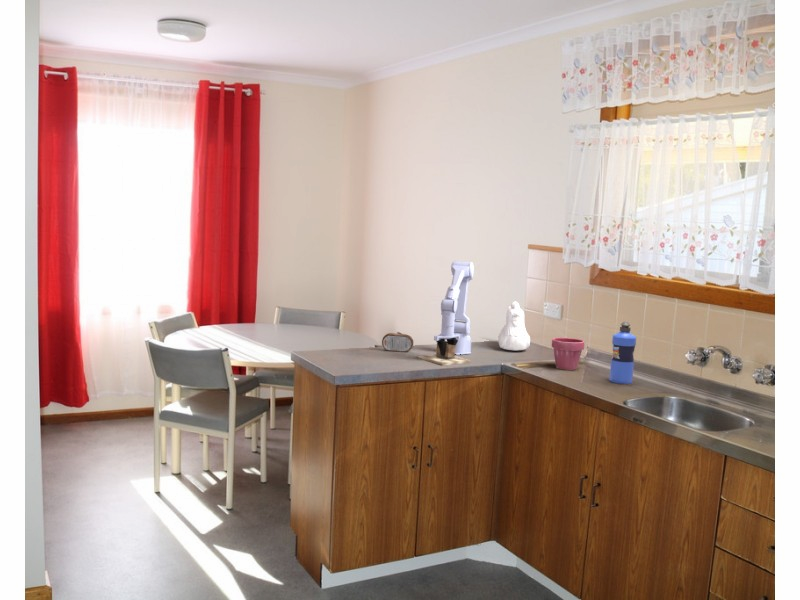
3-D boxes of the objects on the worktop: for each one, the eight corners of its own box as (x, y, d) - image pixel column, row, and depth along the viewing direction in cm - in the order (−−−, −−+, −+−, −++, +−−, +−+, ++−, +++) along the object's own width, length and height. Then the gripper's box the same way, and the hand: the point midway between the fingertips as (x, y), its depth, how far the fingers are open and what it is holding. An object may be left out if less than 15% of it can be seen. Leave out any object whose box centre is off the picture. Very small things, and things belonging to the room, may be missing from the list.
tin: (413, 351, 342) (413, 334, 341) (412, 352, 339) (413, 335, 338) (381, 349, 343) (382, 332, 342) (381, 350, 340) (381, 333, 339)
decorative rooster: (528, 354, 348) (532, 304, 345) (496, 352, 351) (499, 301, 348) (530, 346, 372) (533, 298, 369) (500, 343, 375) (503, 296, 372)
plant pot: (554, 363, 329) (556, 335, 328) (585, 367, 323) (587, 339, 322) (546, 368, 316) (548, 340, 315) (578, 372, 311) (580, 343, 309)
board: (445, 355, 336) (445, 353, 336) (470, 362, 322) (470, 360, 322) (418, 357, 327) (418, 355, 327) (442, 365, 313) (442, 363, 313)
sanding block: (442, 355, 330) (443, 342, 329) (454, 358, 324) (455, 345, 323) (436, 356, 327) (436, 343, 327) (448, 359, 321) (448, 346, 321)
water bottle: (626, 379, 302) (630, 320, 299) (636, 384, 293) (641, 323, 290) (605, 378, 301) (610, 320, 298) (615, 384, 292) (620, 323, 289)
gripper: (453, 323, 331) (451, 352, 333) (430, 325, 322) (428, 354, 323) (464, 325, 326) (462, 354, 327) (440, 327, 316) (439, 357, 318)
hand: (446, 355), depth 325 cm, fingers closed on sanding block, 4 cm apart
